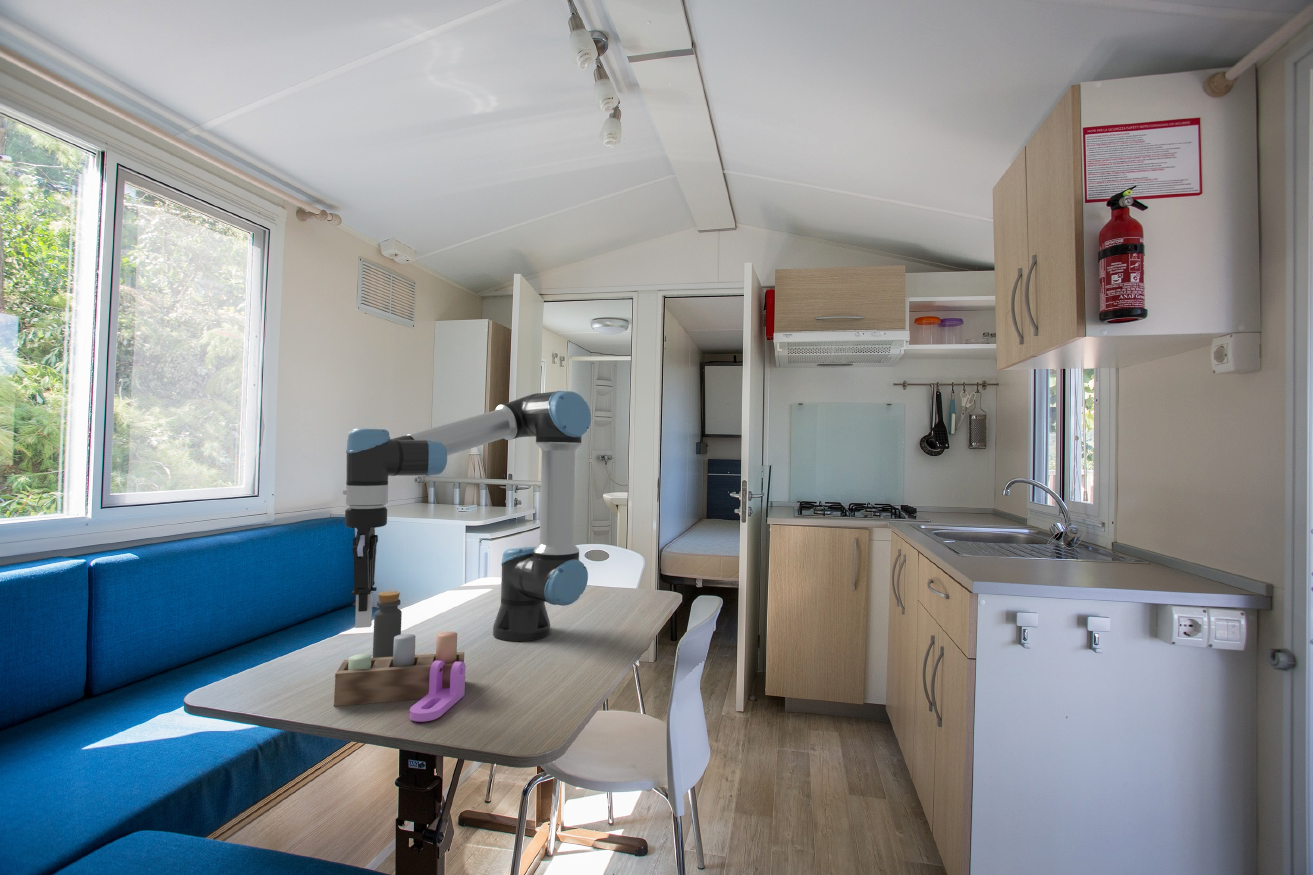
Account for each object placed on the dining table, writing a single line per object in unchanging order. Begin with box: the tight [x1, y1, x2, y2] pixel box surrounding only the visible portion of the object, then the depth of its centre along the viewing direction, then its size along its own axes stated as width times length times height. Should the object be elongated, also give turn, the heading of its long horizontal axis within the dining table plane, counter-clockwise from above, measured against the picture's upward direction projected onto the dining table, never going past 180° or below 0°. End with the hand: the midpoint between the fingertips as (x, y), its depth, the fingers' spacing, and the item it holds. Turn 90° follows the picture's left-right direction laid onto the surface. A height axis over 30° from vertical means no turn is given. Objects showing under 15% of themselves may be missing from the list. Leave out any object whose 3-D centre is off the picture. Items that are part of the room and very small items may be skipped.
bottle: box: [372, 590, 403, 658], centre depth 139 cm, size 6×6×15 cm
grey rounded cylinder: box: [393, 633, 417, 667], centre depth 119 cm, size 4×4×6 cm
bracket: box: [409, 661, 466, 722], centre depth 112 cm, size 13×6×7 cm, turn 174°
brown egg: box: [435, 631, 458, 663], centre depth 122 cm, size 4×4×6 cm
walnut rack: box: [333, 651, 465, 707], centre depth 119 cm, size 23×8×6 cm, turn 107°
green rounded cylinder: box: [348, 653, 372, 670], centre depth 117 cm, size 4×4×6 cm
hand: (363, 626), depth 117 cm, fingers closed
